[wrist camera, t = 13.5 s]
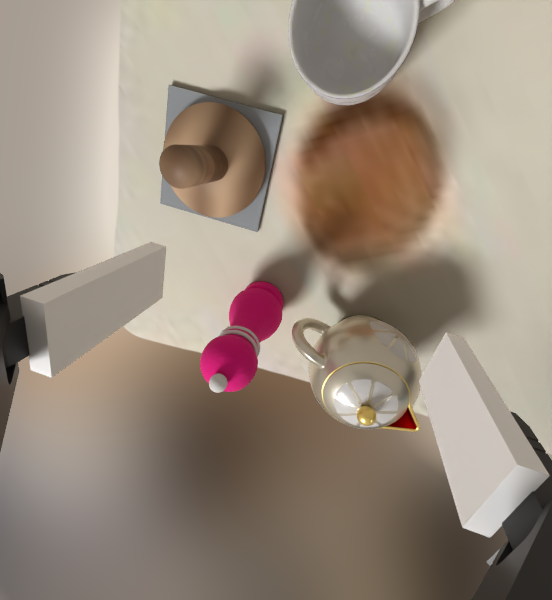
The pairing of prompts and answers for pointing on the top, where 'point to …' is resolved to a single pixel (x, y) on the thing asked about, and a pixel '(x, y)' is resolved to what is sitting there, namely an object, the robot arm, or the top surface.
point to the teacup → (354, 43)
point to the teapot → (362, 372)
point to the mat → (267, 130)
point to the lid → (213, 159)
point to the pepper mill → (242, 338)
